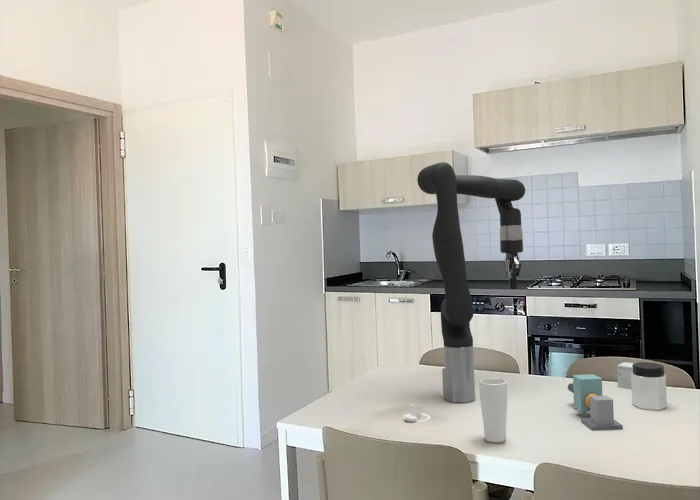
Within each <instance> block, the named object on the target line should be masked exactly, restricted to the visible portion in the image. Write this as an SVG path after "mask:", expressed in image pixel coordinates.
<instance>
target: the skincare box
mask: <svg viewBox="0 0 700 500" xmlns="http://www.w3.org/2000/svg"><path fill="white" fill-rule="evenodd" d="M634 363H635V362H626V361H624V362H621V363H618V364H617V365H616V367H617V371H616V372H617V387H619V388H624V389H629V390H632V385H631V373H633V367H632V365H633V364H634Z"/></svg>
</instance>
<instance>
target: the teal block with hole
mask: <svg viewBox="0 0 700 500" xmlns="http://www.w3.org/2000/svg"><path fill="white" fill-rule="evenodd" d="M572 383H573V392H574V393H573V407H574V408H575V409H577V410H578V412H581V413H585V412H586V413H588V412H589V413H590V408H588V407H587V406H586V404H585V398H586V395H589V394H596V395H598V396H603V379H602V377H600V376H597V375H596V374H594V373H593V374H592V373H591V374H590V373H589V374H573V375H572Z"/></svg>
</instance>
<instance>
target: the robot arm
mask: <svg viewBox="0 0 700 500" xmlns="http://www.w3.org/2000/svg"><path fill="white" fill-rule="evenodd" d="M416 181H417V185H418V187H419V189H420V190H421V191H422V192H423V193H425V194H427V195H435V197H436V203H437V212H436V217H435V221H434V224H433V229H432V233H431V234H432V235H431V238H432V246H433V251H434V256H435V261H436V264H437V268H438V270H439V272H440V275H441V278H442V282H443V286H444V296H445V297H444V299H443V300H442V302H441V304H440V323H441V325H440V326H441V335H442V341H443V356H444V357H443V358H444V363H443V364H444V368H442V370H441V371H442V372H441V374H442V375H441V377H442V397H443V399H444V400H447V401H448V402H450V403H453V404H454V403H471V402H474V401H475V400H476V386H475V385H476V384H475V383H476V382H475V363H474V361H475V360H474V359H475V357H474V340H473V338H474V337H473V335H472V331H471V325H470V323H471V321H472V319H473V317H474V313H475V307H474V304H473V300H472V296H471V292H470V287H469V284H468V278H467V267H466V258H465V249H464V244H463V243H464V242H463V236H462V231H461V223H460V215H459V208H458V195H465V196H471V197H478V198H484V199H495V204H496V207H497V209H498V210H497V211H498V213H499V222H500V224H499V225H500V227H499V246H500V249H499V250H500V253H501V254H505V258H504V261H503V265H504V268H505V269H504V270H505V275H506V276H507V277H508V284H509V287H508V288H509V289H510V290H517V289H518V280H517V279H518V277H520V272H521V267H522V263H521V262H520V258H519V253H523V252H524V243H523V242H524V240H523V238H524V236H523V235H524V234H523V233H524V232H523V227H522V211H521V210H520V208H516V207H514V206H513V204H512V202H515V201H519V200H521V199H522V198H524V196H525V194H526V187H525V185H524V184H523V182H521V181H520V180H517V179H512V178H494V177H491V176H484V175H478V174H477V175H475V174H474V175H469V174H468V175H465V174H464V175H463V174H462V175H461V174H460V175H458V174H457V175H456V172H455V170H454V168H453V166H452V165H451V164H450V163H449V162H446V161H445V162H444V161H443V162H437V163H434V164H431V165H428V166H426V167H424V168H422V169H421V170H420V171H419V173H418V174H417V179H416Z"/></svg>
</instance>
